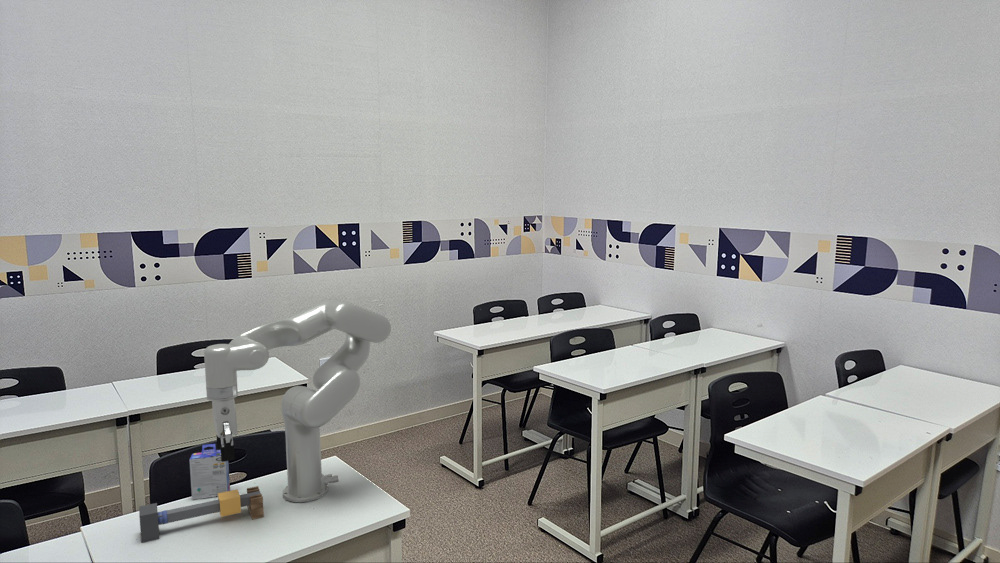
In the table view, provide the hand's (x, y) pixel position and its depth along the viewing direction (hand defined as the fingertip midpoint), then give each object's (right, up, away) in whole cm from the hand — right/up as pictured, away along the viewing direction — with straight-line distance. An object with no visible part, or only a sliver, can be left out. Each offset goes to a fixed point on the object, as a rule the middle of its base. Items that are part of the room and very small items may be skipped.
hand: (225, 454), depth 173 cm
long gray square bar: (-5, -16, -1) cm, 16 cm away
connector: (-16, -19, -7) cm, 26 cm away
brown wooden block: (+6, -17, +5) cm, 19 cm away
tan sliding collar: (0, -16, +2) cm, 16 cm away
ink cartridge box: (-11, -16, +17) cm, 26 cm away
